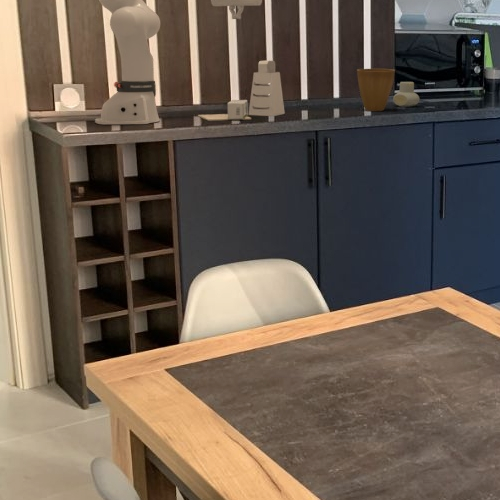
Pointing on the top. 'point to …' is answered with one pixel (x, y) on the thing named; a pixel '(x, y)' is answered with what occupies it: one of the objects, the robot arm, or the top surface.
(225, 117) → the mat
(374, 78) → the plant pot
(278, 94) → the grater
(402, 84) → the pipe tee fitting
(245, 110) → the syrup box
